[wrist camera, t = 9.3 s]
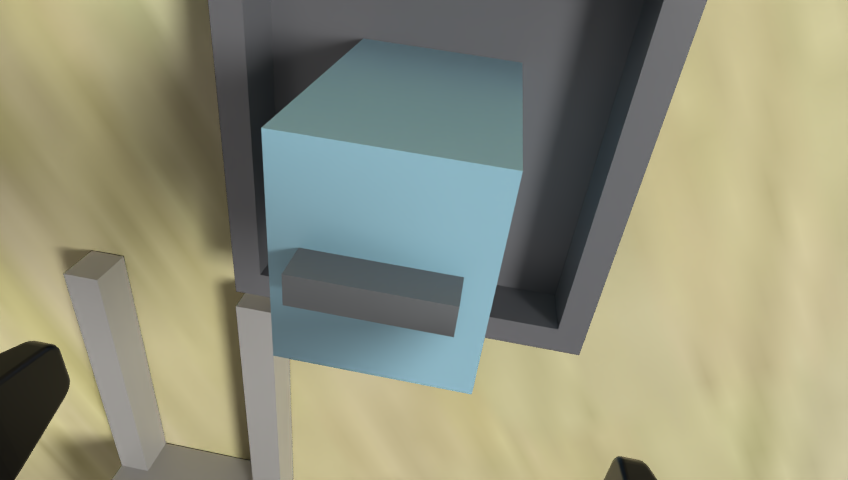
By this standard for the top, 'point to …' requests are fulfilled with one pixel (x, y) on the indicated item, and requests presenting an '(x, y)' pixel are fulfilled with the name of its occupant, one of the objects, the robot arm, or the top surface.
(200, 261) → the top surface
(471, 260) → the light blue block
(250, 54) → the tray
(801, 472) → the top surface
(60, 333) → the top surface
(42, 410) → the robot arm
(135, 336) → the dock
